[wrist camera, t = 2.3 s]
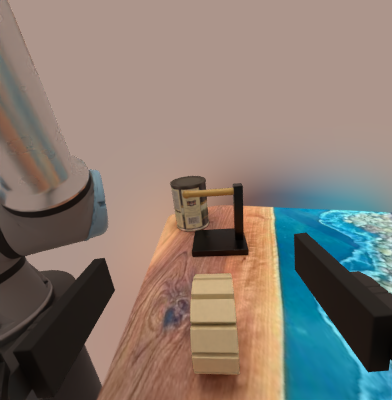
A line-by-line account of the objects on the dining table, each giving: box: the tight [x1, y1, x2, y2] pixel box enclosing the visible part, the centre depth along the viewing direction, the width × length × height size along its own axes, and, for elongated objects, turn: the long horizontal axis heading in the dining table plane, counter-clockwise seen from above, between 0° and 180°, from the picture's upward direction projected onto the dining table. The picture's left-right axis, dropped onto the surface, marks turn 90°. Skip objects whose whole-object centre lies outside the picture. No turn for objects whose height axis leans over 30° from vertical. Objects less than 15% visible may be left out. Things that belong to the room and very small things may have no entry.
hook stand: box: [182, 183, 248, 257], centre depth 51 cm, size 14×10×16 cm
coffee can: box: [170, 176, 209, 232], centre depth 63 cm, size 10×10×14 cm
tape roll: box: [190, 273, 240, 375], centre depth 27 cm, size 5×11×11 cm, turn 176°
